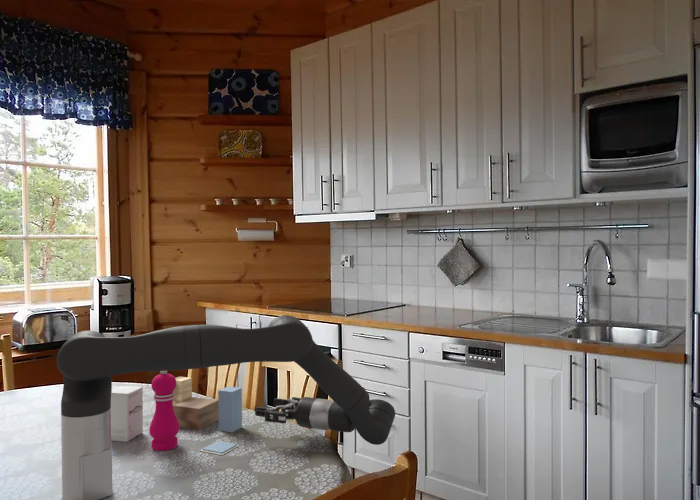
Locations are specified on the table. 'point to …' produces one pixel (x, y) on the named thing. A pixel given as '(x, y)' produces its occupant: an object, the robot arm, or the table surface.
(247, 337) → the robot arm
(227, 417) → the blue pillar
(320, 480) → the table surface
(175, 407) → the walnut block
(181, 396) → the oak pillar
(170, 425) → the pepper mill
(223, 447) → the tile
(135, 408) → the supplement box
